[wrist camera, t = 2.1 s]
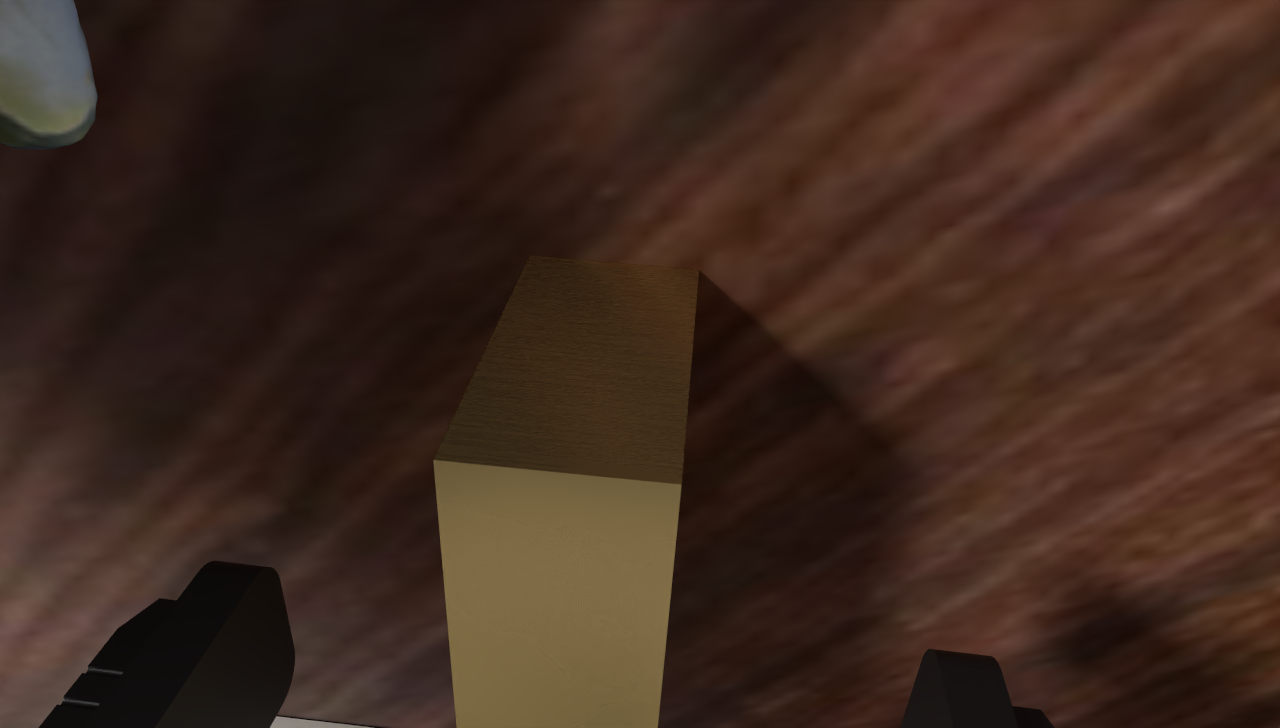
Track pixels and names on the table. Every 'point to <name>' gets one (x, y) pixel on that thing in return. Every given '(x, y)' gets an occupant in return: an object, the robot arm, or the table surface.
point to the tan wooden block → (568, 498)
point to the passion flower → (44, 75)
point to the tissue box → (307, 724)
